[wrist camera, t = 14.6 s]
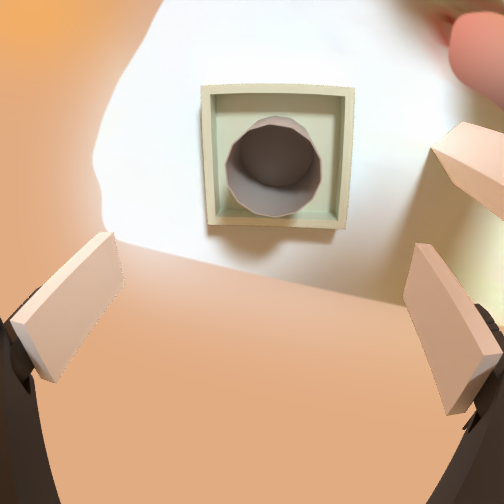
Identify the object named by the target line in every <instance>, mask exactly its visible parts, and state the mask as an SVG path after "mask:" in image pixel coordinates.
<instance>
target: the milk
mask: <svg viewBox="0 0 504 504" xmlns="http://www.w3.org/2000/svg"><path fill="white" fill-rule="evenodd" d="M431 148H432V150H433V152H434V153H435V155H436V156H437V158H438V159H439V161H440V163H441V164H442V166H443V168H444V169H445V171H446V173H447V174H448V176H449V178H450V179H451V181H452V183H453V184H455V185H456V186H457V187H459V188H460V189H462V190H463V191H465V192H466V193H467V194H469V195H470V196H472V197H473V198H474V199H476V200H477V201H478V202H480V203H481V204H482V205H484V206H485V207H486V208H488V209H489V210H490V211H492V212H493V213H494V214H496V215H497V216H498V217H499V218H501V219H502V220H503V221H504V133H501V132H497V131H494V130H491V129H488V128H484V127H481V126H477V125H474V124H470V123H466V122H463V121H462V122H460V123H459V124H458V125H457V126H456V127H454V128H453V129H452V130H451V131H450V132H448V133H447V134H446V135H445V136H444V137H443V138H441V139H440V140H439V141H438V142H437V143H435V144H434V145H433V146H432V147H431Z"/></svg>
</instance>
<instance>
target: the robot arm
mask: <svg viewBox="0 0 504 504" xmlns="http://www.w3.org/2000/svg"><path fill="white" fill-rule="evenodd" d="M124 284H125V282H124V278H123V274H122V269H121V265H120V261H119V256H118V252H117V247H116V242H115V237H114V232H100V233H98V234H97V235H96V236H95V237H94V238H93V239H92V240H90V241H89V242H88V243H87V244H86V245H85V246H84V247H83V248H81V249H80V251H78V252H77V253H76V254H75V255H74V256H73V257H72V258H71V259H70V260H69V261H68V262H66V263H65V264H64V265H63V266H62V267H61V268H60V269H59V270H58V271H57V272H56V273H55V274H54V275H53V276H52V277H51V278H50V279H49V280H48V281H47V282H46V283H45V284H44V285H42V286H41V287H39V288H38V289H36V290H35V291H34V292H33V293H32V294H31V295H30V296H29V298H28V299H26V300H25V301H24V302H23V305H21V306H20V307H19V308H18V309H17V310H16V311H15V312H14V313H13V314H12V315H11V316H10V317H9V318H8V320H7V321H6V322H5V323H4V324H3V322H2V320H1V318H0V504H61V503H60V500H59V497H58V494H57V490H56V487H55V483H54V480H53V476H52V473H51V469H50V465H49V461H48V457H47V453H46V448H45V444H44V439H43V434H42V430H41V424H40V418H39V412H38V406H37V399H36V392H35V384H34V379H33V377H32V375H31V372H32V370H33V369H34V367H35V369H36V371H37V372H38V374H39V375H40V377H41V379H44V380H47V381H50V382H53V383H57V381H58V379H59V378H60V376H61V375H62V373H63V372H64V370H65V369H66V367H67V365H68V364H69V363H70V361H71V359H72V358H73V357H74V355H75V354H76V352H77V351H78V349H79V347H80V346H81V345H82V343H83V342H84V340H85V339H86V337H87V336H88V334H89V333H90V332H91V330H92V329H93V327H94V326H95V324H96V323H97V322H98V320H99V319H100V317H101V316H102V314H103V313H104V312H105V310H106V309H107V307H108V306H109V305H110V303H111V302H112V301H113V299H114V298H115V297H116V295H117V294H118V292H119V291H120V290H121V288H122V287H123V286H124ZM402 298H403V300H404V303H405V305H406V307H407V309H408V312H409V314H410V317H411V319H412V321H413V324H414V326H415V329H416V331H417V334H418V336H419V339H420V341H421V344H422V346H423V349H424V352H425V354H426V357H427V360H428V362H429V365H430V368H431V371H432V373H433V376H434V379H435V382H436V385H437V388H438V390H439V394H440V397H441V399H442V402H443V406H444V409H445V412H446V415H447V416H448V415H454V414H459V413H465V412H466V411H467V409H468V408H469V407H470V405H471V404H472V402H473V401H474V404H475V407H476V409H477V410H476V411H475V413H474V414H473V415H472V417H471V418H470V419H469V421H468V422H467V423H466V425H465V426H464V427H463V430H465V429H466V428H467V429H466V431H465V433H464V435H463V437H462V440H461V442H460V444H459V446H458V448H457V450H456V452H455V454H454V456H453V458H452V460H451V462H450V463H449V465H448V467H447V469H446V471H445V473H444V474H443V476H442V478H441V480H440V481H439V483H438V485H437V486H436V488H435V490H434V492H433V493H432V495H431V496H430V498H429V500H428V501H427V503H426V504H504V336H503V334H502V332H501V331H499V328H498V326H497V324H496V323H494V322H495V321H494V320H493V318H492V317H491V315H490V314H489V312H488V311H487V310H486V309H484V308H483V307H482V306H481V305H480V304H473V302H472V301H471V299H470V298H469V296H468V295H467V293H466V292H465V290H464V289H463V287H462V286H461V284H460V283H459V282H458V280H457V279H456V277H455V276H454V274H453V273H452V272H451V270H450V269H449V267H448V266H447V265H446V263H445V262H444V261H443V259H442V258H441V257H440V255H439V254H438V253H437V251H436V250H435V249H434V247H433V246H432V245H431V244H424V243H415V247H414V252H413V256H412V260H411V265H410V269H409V273H408V277H407V281H406V285H405V289H404V292H403V296H402Z"/></svg>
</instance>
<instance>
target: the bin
mask: <svg viewBox="0 0 504 504" xmlns="http://www.w3.org/2000/svg"><path fill="white" fill-rule="evenodd" d="M354 104H355V88H349V87H338V86H324V85H306V84H226V85H208V86H201V113H202V136H203V156H204V174H205V190H206V205H207V220H208V225H245V226H277V227H304V228H328V229H346V220H347V211H348V200H349V189H350V177H351V164H352V149H353V130H354ZM274 115H276V116H282V117H288V118H292V119H293V120H295V121H296V122H298V123H299V124H300V125H302V126H303V127H305V129H306V130H307V132H308V134H309V136H310V138H311V139H312V141H313V143H314V145H315V147H316V149H317V151H318V153H319V155H320V157H321V159H322V182H321V184H320V186H319V188H318V190H317V192H316V195H315V197H314V199H313V200H312V201H311V202H310V203H308V204H307V205H306V206H305V207H303V208H302V209H301V210H299V211H298V212H297V213H294V214H289V215H285V216H281V217H277V218H275V217H269V216H263V215H258V214H254V213H253V212H251V211H250V210H248V209H247V208H245V207H244V206H242V205H241V204H239V203H238V202H237V200H236V199H235V197H234V196H233V194H232V192H231V191H230V189H229V188H228V186H227V183H226V174H225V165H224V164H225V161H226V158H227V156H228V153H229V150H230V148H231V145H232V143H233V142H235V141H236V140H237V139H238V138H239V137H240V136H241V135H242V134H243V133H244V132H245V131H247V130H248V129H249V128H250V127H251V126H252V125H253V124H254V123H256V122H257V121H258V120H260V119H263V118H267V117H270V116H274Z"/></svg>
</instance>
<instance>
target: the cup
mask: <svg viewBox="0 0 504 504" xmlns="http://www.w3.org/2000/svg"><path fill="white" fill-rule="evenodd" d="M224 165H225V174H226V183H227V186H228V188H229V189H230V191H231V192H232V194H233V196H234V197H235V199H236V200H237V202H238V203H239V204H241V205H242V206H244V207H245V208H247V209H248V210H250V211H251V212H253V213H254V214H258V215H263V216H269V217H275V218H277V217H281V216H285V215H289V214H294V213H297V212H298V211H299V210H301V209H302V208H303V207H305V206H306V205H307V204H308V203H310V202H311V201H312V200H313V199H314V197H315V195H316V192H317V190H318V188H319V186H320V184H321V182H322V159H321V157H320V155H319V153H318V151H317V149H316V147H315V145H314V143H313V141H312V139H311V138H310V136H309V134H308V132H307V130H306V129H305V127H303V126H302V125H300V124H299V123H298V122H296V121H295V120H293V119H292V118H288V117H282V116H276V115H274V116H270V117H267V118H263V119H260V120H258V121H257V122H256V123H254V124H253V125H252V126H251V127H250V128H249V129H248V130H247V131H245V132H244V133H243V134H242V135H241V136H240V137H239V138H238V139H237V140H236V141H235V142H233V143H232V145H231V148H230V150H229V153H228V156H227V158H226V161H225V164H224Z"/></svg>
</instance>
